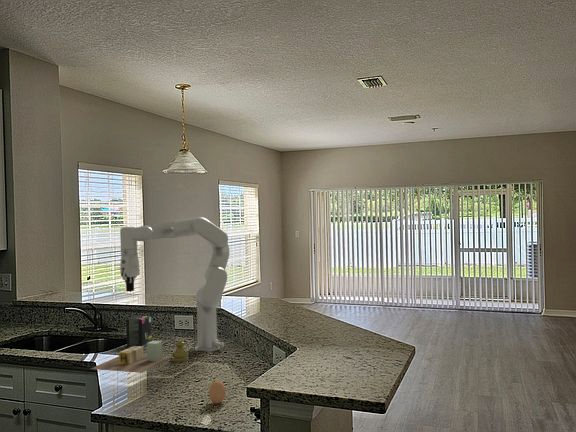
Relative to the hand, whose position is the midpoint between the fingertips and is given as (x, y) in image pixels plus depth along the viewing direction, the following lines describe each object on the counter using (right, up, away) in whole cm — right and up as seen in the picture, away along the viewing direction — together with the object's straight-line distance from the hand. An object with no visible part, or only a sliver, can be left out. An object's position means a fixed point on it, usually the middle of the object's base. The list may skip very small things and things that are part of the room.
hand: (130, 291), depth 255 cm
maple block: (+2, -28, -16) cm, 32 cm away
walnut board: (+6, -31, -14) cm, 35 cm away
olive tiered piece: (+26, -31, -12) cm, 43 cm away
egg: (+50, -31, -66) cm, 89 cm away
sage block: (+14, -30, -10) cm, 35 cm away
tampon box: (-2, -32, +24) cm, 40 cm away
